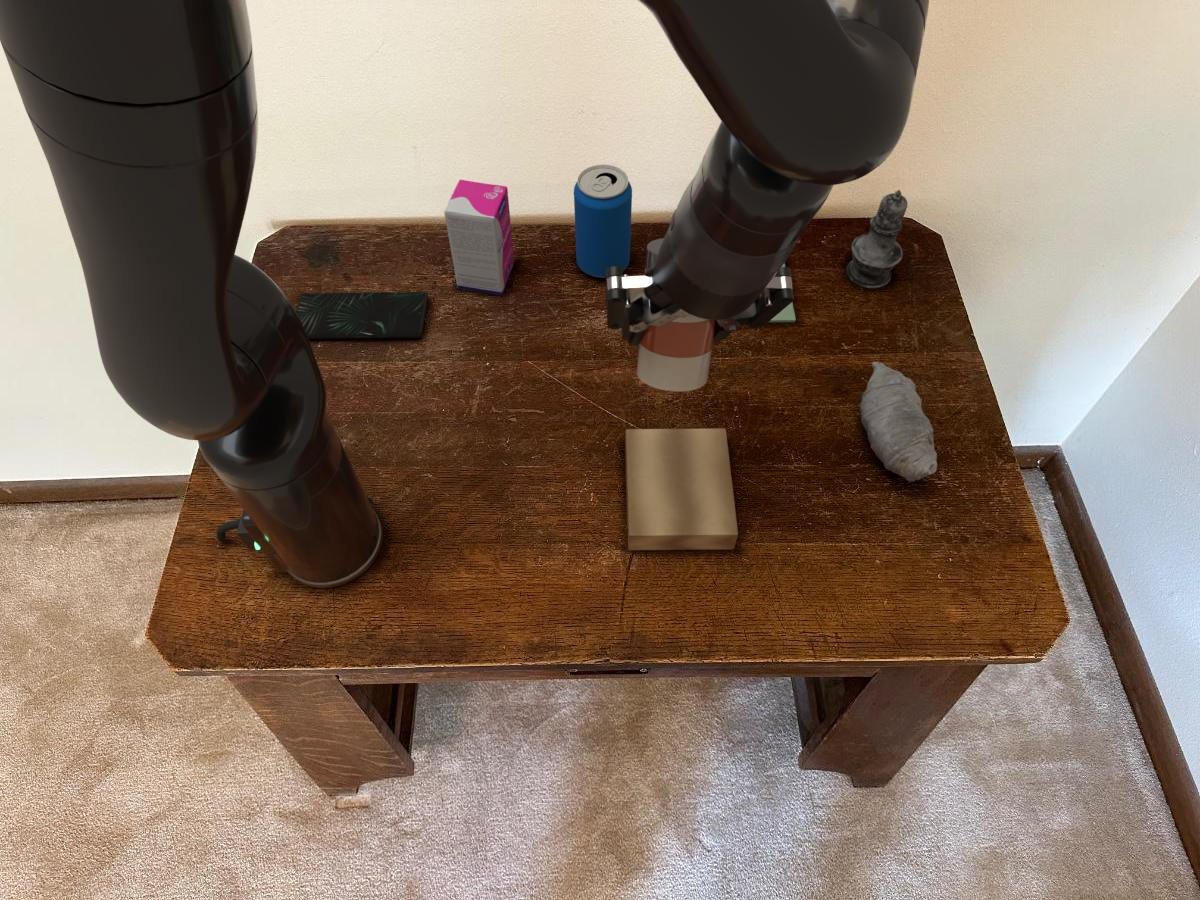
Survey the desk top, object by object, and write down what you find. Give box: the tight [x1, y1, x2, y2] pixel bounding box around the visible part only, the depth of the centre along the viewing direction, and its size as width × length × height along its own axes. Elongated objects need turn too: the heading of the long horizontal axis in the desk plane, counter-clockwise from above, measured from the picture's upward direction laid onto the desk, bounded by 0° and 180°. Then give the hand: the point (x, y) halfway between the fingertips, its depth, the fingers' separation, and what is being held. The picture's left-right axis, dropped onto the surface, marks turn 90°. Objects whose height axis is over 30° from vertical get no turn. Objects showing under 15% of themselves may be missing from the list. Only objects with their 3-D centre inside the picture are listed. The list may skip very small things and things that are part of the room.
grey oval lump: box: [859, 361, 938, 482], centre depth 80 cm, size 6×14×8 cm, turn 5°
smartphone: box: [295, 291, 429, 340], centre depth 91 cm, size 7×1×15 cm
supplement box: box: [443, 179, 515, 296], centre depth 91 cm, size 6×6×12 cm
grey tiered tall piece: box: [845, 189, 908, 289], centre depth 91 cm, size 6×6×12 cm
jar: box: [636, 237, 716, 393], centre depth 64 cm, size 6×11×6 cm
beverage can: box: [573, 164, 633, 279], centre depth 92 cm, size 6×6×12 cm
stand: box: [624, 427, 739, 551], centre depth 77 cm, size 10×12×3 cm
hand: (672, 334), depth 67 cm, fingers closed on jar, 6 cm apart
